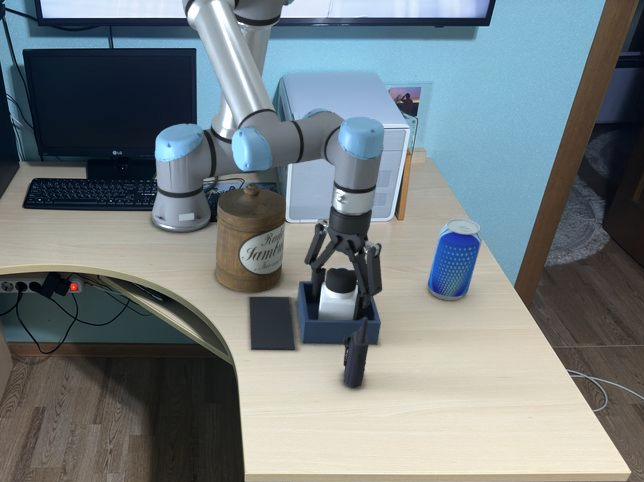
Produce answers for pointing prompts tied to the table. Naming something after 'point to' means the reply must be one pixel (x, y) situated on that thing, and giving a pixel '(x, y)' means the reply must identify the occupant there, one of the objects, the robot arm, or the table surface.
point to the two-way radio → (356, 355)
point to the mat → (271, 324)
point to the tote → (331, 329)
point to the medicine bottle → (338, 294)
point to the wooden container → (250, 238)
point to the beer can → (454, 259)
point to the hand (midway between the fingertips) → (337, 307)
